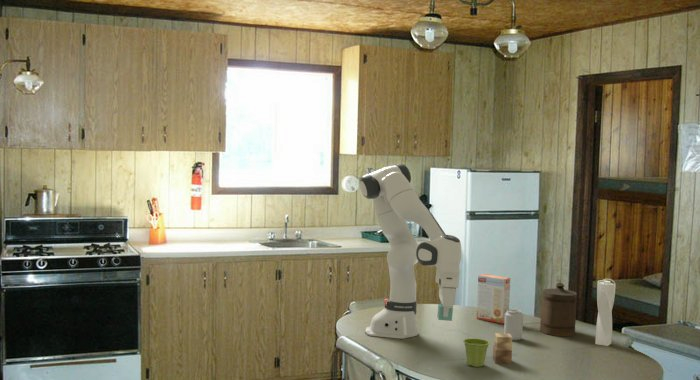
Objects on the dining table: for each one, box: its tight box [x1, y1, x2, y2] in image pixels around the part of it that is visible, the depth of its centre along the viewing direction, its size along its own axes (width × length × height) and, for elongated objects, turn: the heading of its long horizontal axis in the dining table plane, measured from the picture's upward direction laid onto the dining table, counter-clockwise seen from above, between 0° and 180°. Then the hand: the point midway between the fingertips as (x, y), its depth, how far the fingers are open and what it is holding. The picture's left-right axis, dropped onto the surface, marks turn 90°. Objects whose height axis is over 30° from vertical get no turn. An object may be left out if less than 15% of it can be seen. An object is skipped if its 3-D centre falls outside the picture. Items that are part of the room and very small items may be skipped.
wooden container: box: [539, 282, 578, 337], centre depth 323 cm, size 15×15×22 cm
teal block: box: [437, 303, 454, 322], centre depth 278 cm, size 5×5×5 cm
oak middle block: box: [494, 332, 513, 352], centre depth 275 cm, size 6×6×5 cm
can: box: [503, 308, 524, 341], centre depth 310 cm, size 8×8×12 cm
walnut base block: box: [492, 345, 513, 365], centre depth 275 cm, size 6×6×5 cm
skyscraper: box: [594, 278, 617, 347], centre depth 305 cm, size 8×8×28 cm
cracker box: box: [476, 273, 511, 324], centre depth 341 cm, size 14×6×21 cm, turn 49°
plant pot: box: [463, 337, 490, 368], centre depth 270 cm, size 9×9×9 cm
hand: (444, 314), depth 278 cm, fingers closed on teal block, 5 cm apart
